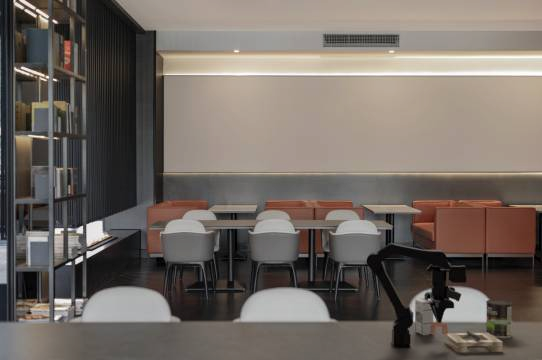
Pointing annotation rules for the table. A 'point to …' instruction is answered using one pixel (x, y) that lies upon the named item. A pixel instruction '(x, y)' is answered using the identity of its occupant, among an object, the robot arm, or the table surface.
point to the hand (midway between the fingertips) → (438, 321)
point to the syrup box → (423, 316)
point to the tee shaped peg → (434, 325)
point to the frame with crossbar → (473, 341)
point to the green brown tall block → (499, 318)
